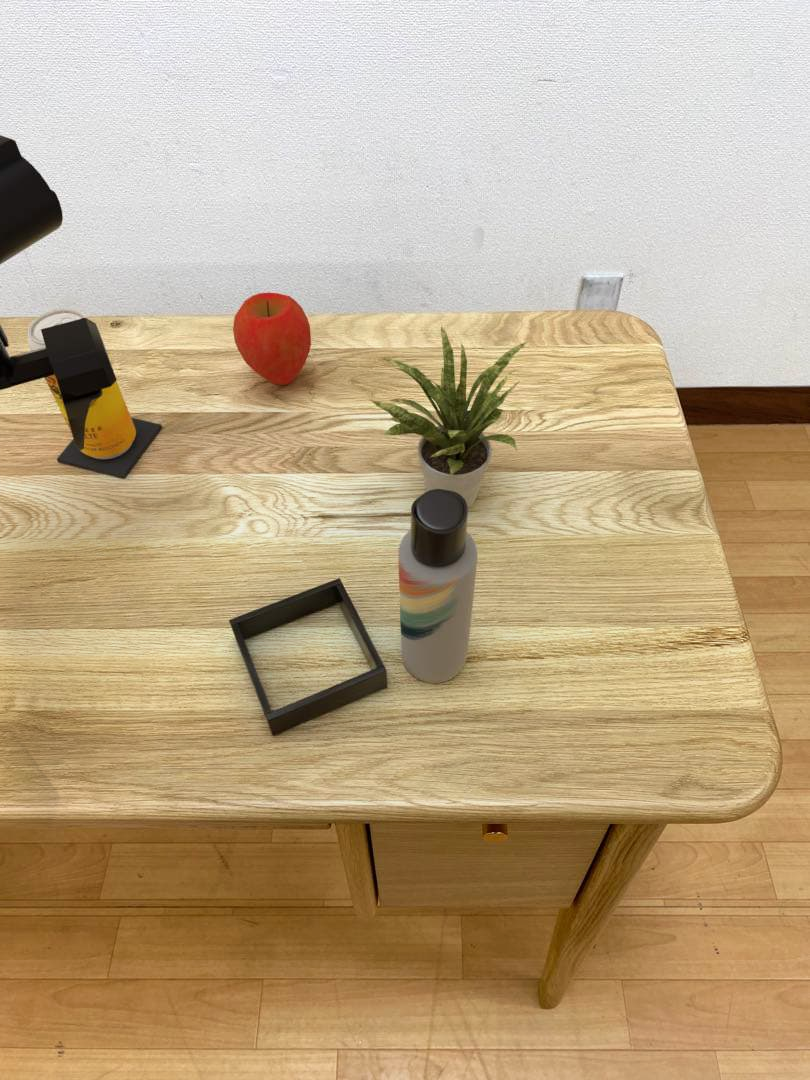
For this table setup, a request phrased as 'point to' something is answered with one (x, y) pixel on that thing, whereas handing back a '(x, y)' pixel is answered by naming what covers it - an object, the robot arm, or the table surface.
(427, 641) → the lotion bottle
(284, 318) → the apple
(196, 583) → the table surface
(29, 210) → the robot arm
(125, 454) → the mat
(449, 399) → the house plant
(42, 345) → the beer can
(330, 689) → the black square frame
